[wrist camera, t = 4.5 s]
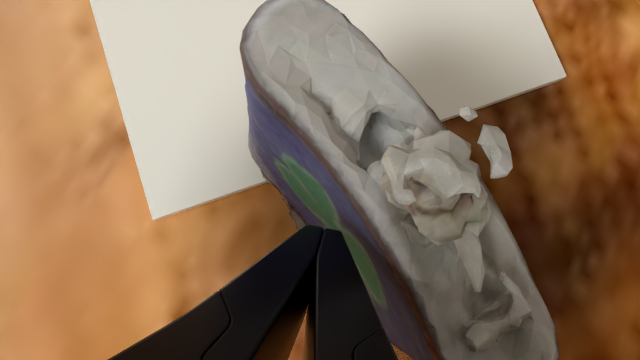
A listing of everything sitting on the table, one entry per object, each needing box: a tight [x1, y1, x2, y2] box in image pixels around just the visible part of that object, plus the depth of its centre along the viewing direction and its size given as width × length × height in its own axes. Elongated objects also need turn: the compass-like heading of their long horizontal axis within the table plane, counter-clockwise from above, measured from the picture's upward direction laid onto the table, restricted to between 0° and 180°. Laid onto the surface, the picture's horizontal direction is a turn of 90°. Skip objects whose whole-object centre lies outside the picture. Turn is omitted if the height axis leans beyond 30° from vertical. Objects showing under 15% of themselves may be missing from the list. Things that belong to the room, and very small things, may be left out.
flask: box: [239, 0, 559, 360], centre depth 13 cm, size 10×3×12 cm, turn 33°
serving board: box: [90, 0, 567, 221], centre depth 20 cm, size 13×18×1 cm
